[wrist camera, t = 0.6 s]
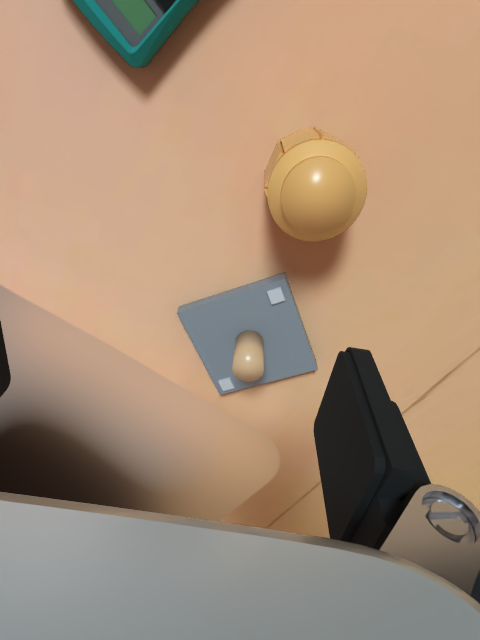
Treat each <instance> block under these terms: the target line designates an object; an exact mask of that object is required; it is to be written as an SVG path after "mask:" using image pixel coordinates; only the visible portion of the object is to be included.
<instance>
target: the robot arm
mask: <svg viewBox="0 0 480 640" xmlns="http://www.w3.org/2000/svg"><path fill="white" fill-rule="evenodd" d="M10 379H11V377H10V370H9V365H8V359H7V354H6V349H5V343H4V338H3V333H2V328H1V322H0V397H1V396H2V395H3V393H4V392H5V391H6V390H7V388H8V386H9V384H10ZM314 437H315V444H316V450H317V457H318V463H319V470H320V476H321V482H322V489H323V495H324V502H325V508H326V515H327V521H328V528H329V534H330V539H329V538H324V537H318V536H311V535H305V534H299V533H292V532H286V531H280V530H273V529H267V528H260V527H254V526H246V525H239V524H232V523H225V522H218V521H210V520H202V519H196V518H188V517H181V516H175V515H167V514H160V513H153V512H146V511H138V510H131V509H123V508H116V507H108V506H101V505H94V504H85V503H78V502H71V501H64V500H56V499H48V498H41V497H33V496H26V495H18V494H11V493H2V492H0V640H480V511H479V510H478V509H477V508H476V507H475V506H474V505H473V504H472V503H471V502H470V501H469V500H468V499H466V498H465V497H464V496H463V495H461V494H460V493H458V492H456V491H454V490H452V489H450V488H448V487H444V486H441V485H434V484H431V482H430V480H429V478H428V475H427V473H426V471H425V468H424V466H423V464H422V461H421V459H420V457H419V454H418V452H417V450H416V447H415V445H414V443H413V440H412V438H411V436H410V433H409V431H408V429H407V426H406V424H405V422H404V419H403V417H402V415H401V412H400V410H399V408H398V406H397V404H396V403H395V402H393V401H391V400H390V397H389V395H388V393H387V390H386V388H385V385H384V383H383V381H382V378H381V376H380V373H379V371H378V369H377V366H376V364H375V361H374V359H373V357H372V354H371V352H370V351H369V350H364V349H358V348H351V347H348V348H347V349H346V351H345V352H343V351H340V352H339V354H338V356H337V359H336V362H335V365H334V367H333V370H332V373H331V376H330V379H329V382H328V385H327V388H326V391H325V393H324V396H323V399H322V402H321V405H320V408H319V411H318V414H317V416H316V419H315V423H314Z"/></svg>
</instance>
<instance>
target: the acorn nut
mask: <svg viewBox="0 0 480 640" xmlns="http://www.w3.org/2000/svg"><path fill="white" fill-rule="evenodd" d="M281 142H282V144H281V143H279V142H278V143H277V145H276V147H275V149H274V151H273V154H272V156H271V158H270V160H269V162H268V165H267V167H266V169H265V175H264V191H265V194H266V196H267V199H268V206H269V209H270V212H271V215H272V217H273V219H274V221H275V222H276V223H277V225H278V226H279V227H280V228H281V229H282V230H283V231H284V232H285V233H287V234H288V235H290V236H292V237H294V238H296V239H299V240H303V241H310V242H316V241H323V240H327V239H330V238H333V237H335V236H337V235H339V234H341V233H342V232H344V231H345V230H346V229H347V228H349V227H350V226H351V225H352V224H353V222H354V221H355V220H356V219H357V217H358V216H359V214H360V212H361V210H362V208H363V206H364V203H365V199H366V194H367V180H366V175H365V171H364V169H363V167H362V164H361V163H360V161H359V158H358V155H357V154H356V153H355V151H354V150H353V149H351V148H350V147H349V146H347V145H346V144H345V143H343V142H342V141H340V140H338V139H336V138H335V137H333V136H331V135H329V134H327V133H325V132H323V131H321V130H319V129H317V128H315V127H314V129H312V128H311V127H309V128H307V129H304V130H302V131H299V132H297V133H294V134H292V135H289V136H287V137H285V138H282V139H281Z"/></svg>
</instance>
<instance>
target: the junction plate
mask: <svg viewBox="0 0 480 640" xmlns="http://www.w3.org/2000/svg"><path fill="white" fill-rule="evenodd" d="M177 314H178V316H179V318H180V320H181V322H182V324H183V326H184V328H185V330H186V331H187V333H188V335H189V337H190V339H191V341H192V343H193V345H194V347H195V348H196V350H197V352H198V354H199V356H200V358H201V360H202V362H203V364H204V366H205V367H206V369H207V371H208V373H209V375H210V377H211V379H212V381H213V383H214V384H215V386H216V388H217V390H218V392H219V394H220V395H222V394H226V393H230V392H234V391H237V390H241V389H245V388H249V387H253V386H257V385H260V384H264V383H268V382H272V381H276V380H280V379H284V378H287V377H291V376H295V375H299V374H303V373H307V372H310V371H314V370H318V368H317V363H316V359H315V357H314V354H313V351H312V348H311V345H310V342H309V340H308V337H307V334H306V331H305V328H304V326H303V323H302V320H301V317H300V314H299V311H298V309H297V306H296V303H295V300H294V297H293V294H292V292H291V289H290V286H289V283H288V280H287V277H286V275H285V273H281V274H278V275H275V276H272V277H269V278H266V279H263V280H260V281H257V282H254V283H251V284H247V285H244V286H241V287H238V288H235V289H232V290H229V291H226V292H223V293H220V294H217V295H213V296H210V297H207V298H204V299H201V300H198V301H195V302H192V303H189V304H186V305H183V306H179V309H178V311H177Z"/></svg>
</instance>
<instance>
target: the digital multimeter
mask: <svg viewBox="0 0 480 640" xmlns="http://www.w3.org/2000/svg"><path fill="white" fill-rule="evenodd" d="M198 1H199V0H73V2H74V3H75V4H76V5H77V7H78V8H79V9H80V11H81V12H82V13H83V14H84V15H85V17H86V18H87V19H88V20H89V21H90V23H91V24H92V25H93V26H94V27H95V29H96V30H97V31H98V32H99V33H100V34H101V35H102V36H103V37H104V38H105V39H106V41H107V42H108V43H109V44H110V45H111V46H112V47H113V48H114V49H115V50H116V51H117V52H118V53H119V54H120V55H121V56H122V57H123V59H124V60H125V61H126V62H127V63H128V64H130V65H131V66H132V67H141V68H143V67H145V66H147V64H148V63H149V62H150V61H151V59H152V58H153V57H154V56H155V54H156V53H157V52H158V50H159V49H160V48H161V47H162V45H163V44H164V43H165V42H166V40H167V39H168V38H169V37H170V35H171V34H172V33H173V31H174V30H175V29H176V28H177V26H178V25H179V24H180V23H181V21H182V20H183V19H184V18H185V16H186V15H187V14H188V13H189V11H190V10H191V9H192V8H193V7H194V6H195V4H196V3H197V2H198ZM172 4H173V5H172ZM171 5H172V6H171ZM166 11H167V12H166ZM125 38H126V39H125ZM129 43H130V44H129Z"/></svg>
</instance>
